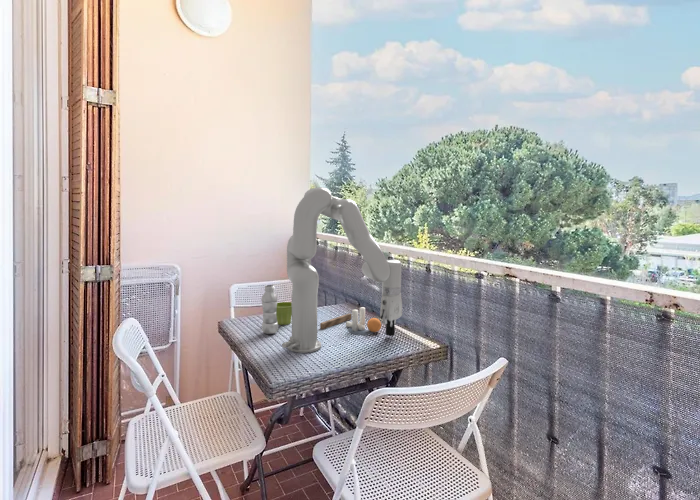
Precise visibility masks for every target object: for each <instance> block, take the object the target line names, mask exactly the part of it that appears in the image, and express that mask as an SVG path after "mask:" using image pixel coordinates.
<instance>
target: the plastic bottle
mask: <svg viewBox="0 0 700 500" xmlns="http://www.w3.org/2000/svg"><path fill="white" fill-rule="evenodd" d="M278 300H279V299H278V296H277V294H276V292H275V286H274V285H273V284H268V285H265V286H264V293H263V294H262V296H261V306H262V325H261V331H262V332H263V333H264V334H265V335H273V334H274V335H275V334H276V333H277V332H278V331H279V324H278V323H277V315H276V310H277V303H278Z"/></svg>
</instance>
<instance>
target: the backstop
mask: <svg viewBox="0 0 700 500" xmlns="http://www.w3.org/2000/svg"><path fill="white" fill-rule="evenodd" d="M350 320H352V313H345V314H343V315H340V316H337V317H334V318H331V319H328V320H326V321H323V322H320V323H319V328H320V330H325V329H328V328H331V327H333V326H335V325H339V324H341V323H344V322H345V323H346V322H347V321H350Z"/></svg>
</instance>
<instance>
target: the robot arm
mask: <svg viewBox="0 0 700 500" xmlns="http://www.w3.org/2000/svg"><path fill="white" fill-rule="evenodd" d="M320 215H322V216H324V217H327V218H330V219H333V220H336V221H339V223H340V225H341V227H342V229H343V231H344V234H345V235H346V238H347V240H348V242H349V243H350V245H351V246H352V247H353V249H355V250H356V252H358V253H359V254H360V255H361V256H362V258H363V259H364V261H365V262H363V263H362V266H361V271H362V274H363V276H365V277H366V278H368V279H370V280H373V281H375V282H377V283H381V300H380V307H379V308H380V309H379V310H380V312H379V315H380V316H379V317H380V319H382V320H381V324H385V335H386V336H388V337H389V336H390V337H393V336H395V335H396V333H395V331H396V330H395V329H396V327H395V326H396V325H397V324H396V323H397V320H398V319H400V318H401V317H403V300H402V299H403V298H402V292H401V291H402V262H401V261H400V260H398V259H397V260H396V259H387V258H386V256H385V254H384V252H383V251H382V249H381V247H380V246H379V245H378V243H377V241H376V239H374V237H373V236H372V234H371V232H370V231H369V228H368V226H367V224H366V222H365V220H364V217H363V216H362V212H361V211H360V208H359V207H358V205H357V203H356V202H355V201H354V200H353V199H349V198H340V197H337V196H333V195H332V193H331V191H330V190H329V189H328V188H325V187H321V186H319V187H315V188H310V189H308V190H307V191H306V192H305V193H304V194H303V197H302V198H301V199H300V201H299V202H298V204H297V206H296V207H295V211H294V215H293V225H292V226H293V227H292V232H293V233H292V235H291V236H290V237H289V239H288V240H287V244H286V245H287V246H286V274H287V278H288V279H289V281H290V282H291V283H292V284H291V285H292V288H291V289H292V290H291V303H292V316H291V336H290V337H289V339H288V341H285V342H282V343H281V346H282V348H283V349H286V348H287V349H288V350H289V351H291V352H293V353H300V354H301V353H302V354H306V353H307V354H308V353H313V352H316V351H318V350H320V349H321V348H322V342H321V341H320V340H318V296H319V295H318V294H319V293H318V291H319V284H320V277H319V273H318V271H317V269H316V268H315V267H314V266H313V265H312V259H313V258H314V257H315V256H316V253H317V251H318V250H317V249H318V246H317V241H318V240H317V234H318V233H317V231H318V230H317V228H318V220H319V216H320Z"/></svg>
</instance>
